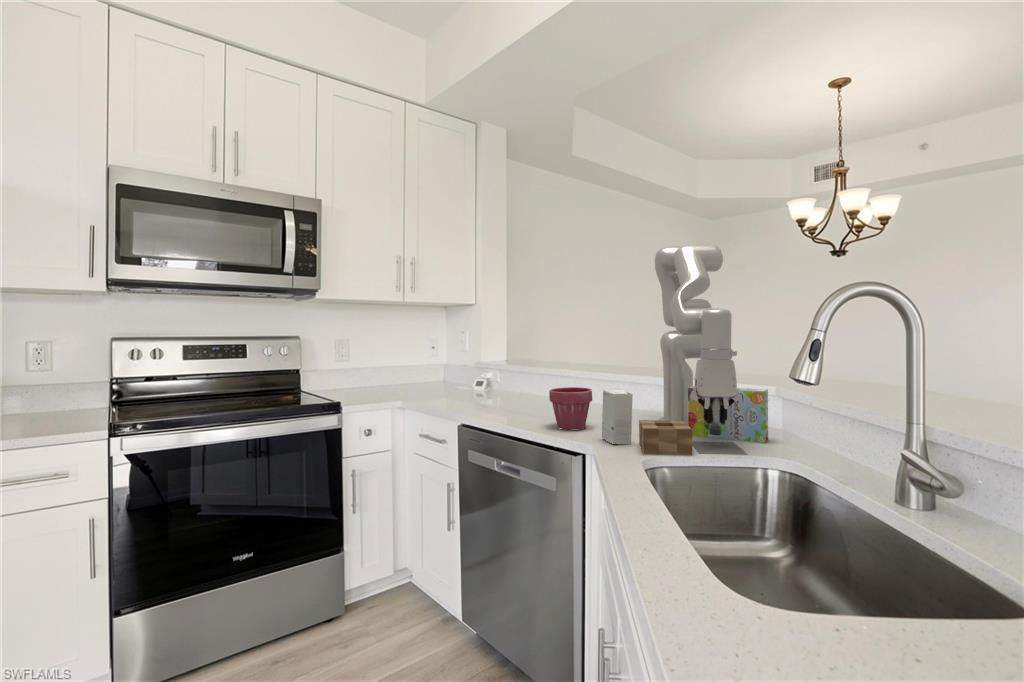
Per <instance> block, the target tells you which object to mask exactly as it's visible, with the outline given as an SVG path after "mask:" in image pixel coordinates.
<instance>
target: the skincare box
mask: <svg viewBox="0 0 1024 682" xmlns="http://www.w3.org/2000/svg"><path fill="white" fill-rule="evenodd" d="M601 416H602V417H601V419H602V420H601V439H602V438H603V439H605V440H606V441H605V440H604V441H605V442H607V441H608V442H607V443H609V442H610V443H609V444H611V443H612V444H624V445H631V444H632V424H633V423H632V422H633V393H632V392H628V391H627V390H623V389H602V414H601ZM603 439H602V440H603ZM630 443H631V444H630ZM612 444H611V445H612Z"/></svg>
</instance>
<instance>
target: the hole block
mask: <svg viewBox="0 0 1024 682" xmlns="http://www.w3.org/2000/svg"><path fill="white" fill-rule="evenodd" d="M638 432H639V433H638V437H639V438H638V440H639V441H638V444H639V448H640V447H641V448H640V450H641V453H642V455H643V454H644V455H650V456H651V455H654V456H659V455H660V456H662V455H663V456H691V457H692V456H693V446H692V441H693V436H692V429H691V428H690V427H689V426H688V425H687V424H686V423H685V422H684V421H678V420H659V419H658V420H657V419H639V420H638Z"/></svg>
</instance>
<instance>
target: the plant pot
mask: <svg viewBox="0 0 1024 682" xmlns="http://www.w3.org/2000/svg"><path fill="white" fill-rule="evenodd" d="M548 395H549V396H548V397H549V398H548V399H549V402H551V403H552V408H553V414H554V417H555V422H556V425H557V428H558V427H559V428H562V429H581V430H584V429H586V424H587V419H588V415H589V409H590V405H591V404H590V403H591V402H593V390H592V389H591V388H589V387H588V388H587V387H577V386H576V387H574V386H572V387H569V386H567V387H557V388H551V389H549V394H548ZM559 428H558V429H559ZM583 428H584V429H583ZM562 429H561V430H562Z"/></svg>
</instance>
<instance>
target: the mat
mask: <svg viewBox="0 0 1024 682" xmlns="http://www.w3.org/2000/svg"><path fill="white" fill-rule="evenodd" d="M692 448H693V449H695V451H696V452H697V453H698V455H731V456H732V455H735V456H736V455H737V456H739V455H740V456H741V455H742V456H745V455H746V456H749V453H747V452H746V451H745V450H744V449H742V448H741V447H740V446H739V445H737V444H736V442H733V441H708V440H706V441H704V440H703V441H701V440H696V441H695V440H692Z"/></svg>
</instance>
